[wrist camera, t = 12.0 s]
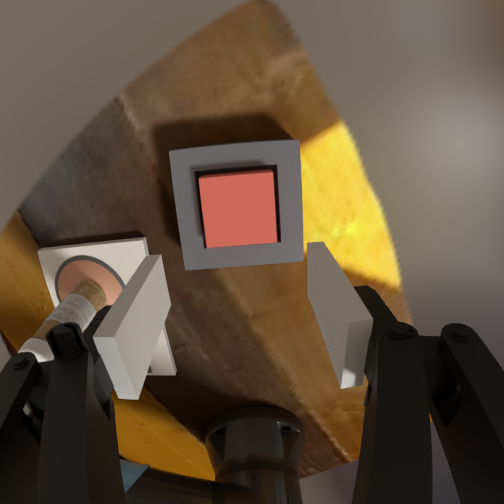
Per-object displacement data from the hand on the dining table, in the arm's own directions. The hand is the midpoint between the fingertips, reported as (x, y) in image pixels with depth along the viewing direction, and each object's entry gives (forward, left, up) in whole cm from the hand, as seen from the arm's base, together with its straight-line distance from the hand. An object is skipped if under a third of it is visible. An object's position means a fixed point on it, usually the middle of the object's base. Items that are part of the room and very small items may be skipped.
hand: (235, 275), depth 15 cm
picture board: (-12, +17, -17) cm, 27 cm away
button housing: (0, 0, -17) cm, 17 cm away
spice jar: (-9, +18, -16) cm, 26 cm away
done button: (0, 0, -15) cm, 15 cm away
